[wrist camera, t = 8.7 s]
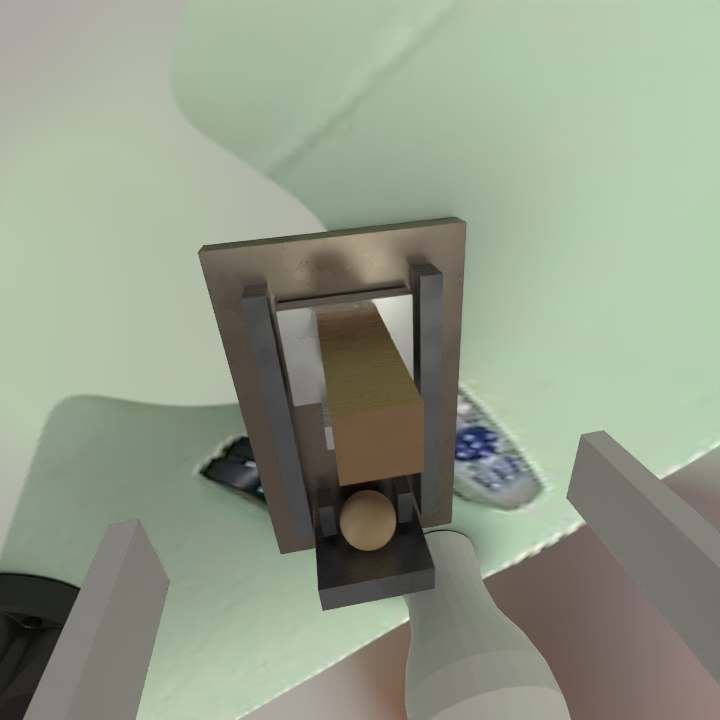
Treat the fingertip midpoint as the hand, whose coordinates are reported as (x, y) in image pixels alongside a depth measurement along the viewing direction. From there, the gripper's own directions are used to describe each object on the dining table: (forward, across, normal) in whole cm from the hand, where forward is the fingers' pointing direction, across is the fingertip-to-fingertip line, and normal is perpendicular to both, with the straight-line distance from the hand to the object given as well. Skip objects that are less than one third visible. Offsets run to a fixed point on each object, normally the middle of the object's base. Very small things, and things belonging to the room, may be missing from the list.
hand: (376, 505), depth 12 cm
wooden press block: (+13, +1, -2) cm, 13 cm away
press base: (+14, +1, -7) cm, 16 cm away
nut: (+13, +1, -14) cm, 19 cm away
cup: (+15, +7, -25) cm, 30 cm away
